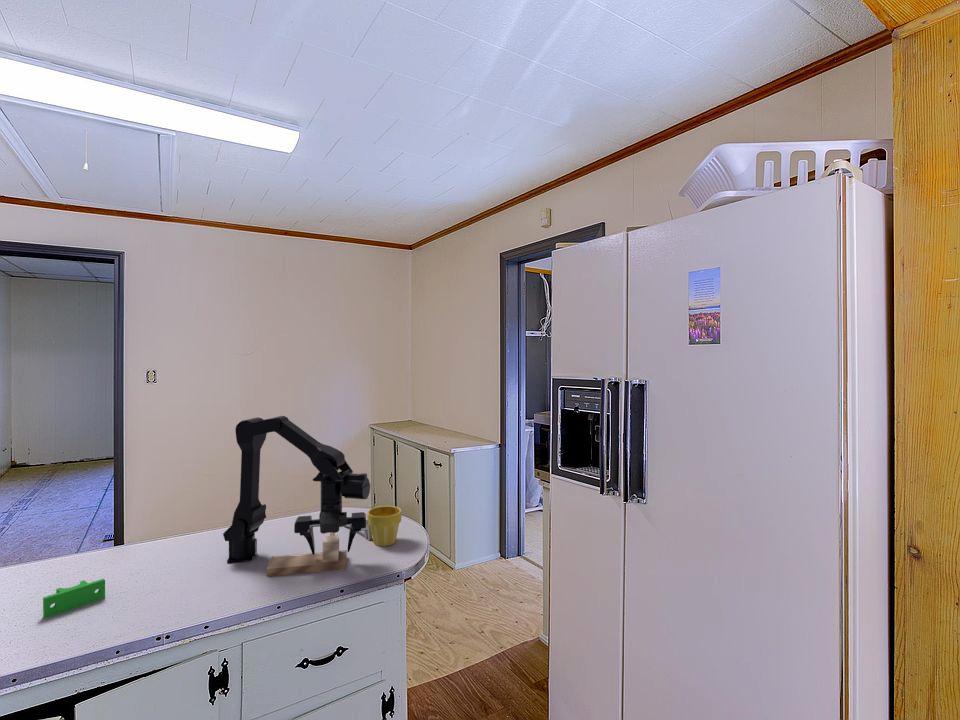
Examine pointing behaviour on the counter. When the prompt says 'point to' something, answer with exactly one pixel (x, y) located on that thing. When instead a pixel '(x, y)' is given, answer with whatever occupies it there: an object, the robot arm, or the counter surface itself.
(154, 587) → the counter surface
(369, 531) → the caliper
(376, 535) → the plant pot
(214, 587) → the counter surface
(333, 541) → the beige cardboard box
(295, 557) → the walnut board
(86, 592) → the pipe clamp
